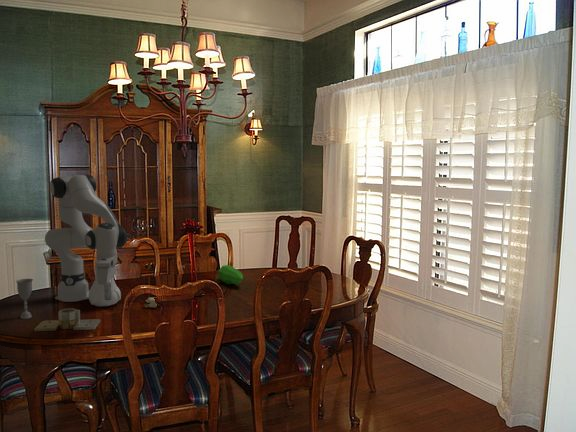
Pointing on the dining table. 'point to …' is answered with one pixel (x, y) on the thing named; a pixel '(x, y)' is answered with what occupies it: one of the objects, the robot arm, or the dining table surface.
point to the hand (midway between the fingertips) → (107, 289)
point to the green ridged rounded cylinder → (230, 275)
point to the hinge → (68, 322)
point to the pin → (108, 292)
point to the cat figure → (150, 303)
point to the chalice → (24, 294)
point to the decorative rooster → (98, 293)
